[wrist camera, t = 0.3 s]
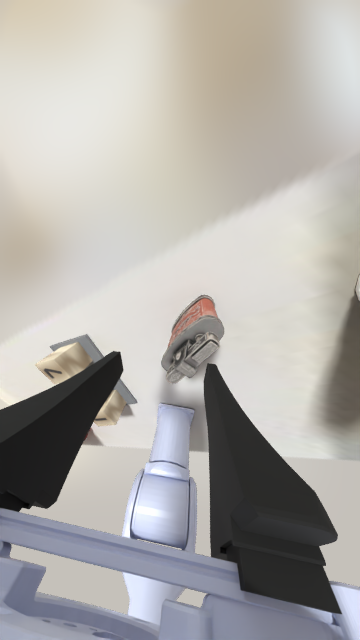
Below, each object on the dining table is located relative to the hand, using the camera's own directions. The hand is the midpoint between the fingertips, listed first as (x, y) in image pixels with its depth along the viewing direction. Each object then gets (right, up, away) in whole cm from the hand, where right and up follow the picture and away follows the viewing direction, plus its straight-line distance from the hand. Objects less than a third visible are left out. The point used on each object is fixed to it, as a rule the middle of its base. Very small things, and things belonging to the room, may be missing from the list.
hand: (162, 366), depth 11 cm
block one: (-14, -14, +19) cm, 27 cm away
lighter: (+3, +4, +9) cm, 10 cm away
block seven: (-18, -3, +14) cm, 23 cm away
